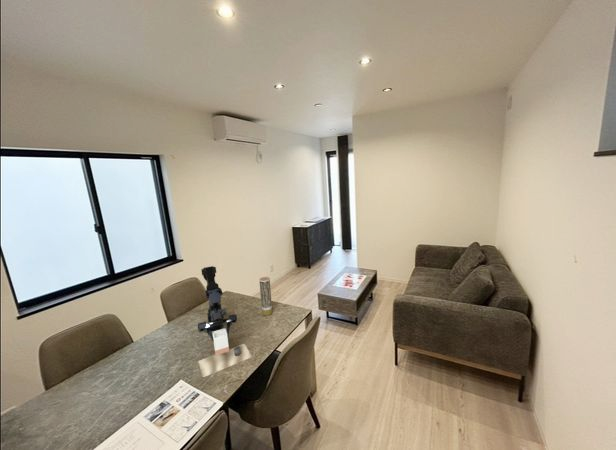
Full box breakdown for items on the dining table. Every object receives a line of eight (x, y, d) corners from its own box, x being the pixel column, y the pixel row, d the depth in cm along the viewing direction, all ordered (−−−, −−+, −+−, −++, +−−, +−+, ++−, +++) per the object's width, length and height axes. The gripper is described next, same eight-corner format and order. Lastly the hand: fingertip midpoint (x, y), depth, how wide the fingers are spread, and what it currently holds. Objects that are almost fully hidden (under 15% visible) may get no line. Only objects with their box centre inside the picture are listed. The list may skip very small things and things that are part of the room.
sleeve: (215, 355, 123) (213, 338, 121) (214, 347, 129) (212, 331, 127) (229, 351, 126) (227, 334, 124) (227, 343, 132) (225, 328, 130)
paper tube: (270, 316, 170) (267, 281, 165) (260, 315, 171) (257, 280, 166) (273, 311, 176) (271, 277, 172) (264, 310, 178) (261, 276, 173)
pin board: (202, 379, 118) (201, 371, 118) (198, 362, 129) (197, 355, 128) (252, 358, 130) (251, 351, 130) (244, 345, 141) (243, 338, 141)
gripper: (195, 309, 123) (199, 342, 115) (234, 299, 130) (240, 330, 123) (196, 316, 131) (200, 347, 123) (233, 307, 139) (239, 336, 131)
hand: (220, 340), depth 125 cm, fingers closed on sleeve, 6 cm apart
